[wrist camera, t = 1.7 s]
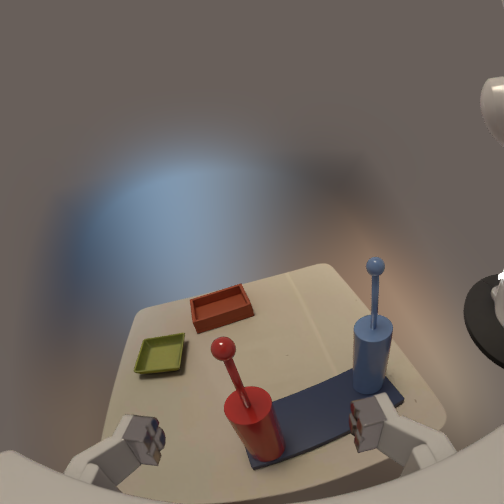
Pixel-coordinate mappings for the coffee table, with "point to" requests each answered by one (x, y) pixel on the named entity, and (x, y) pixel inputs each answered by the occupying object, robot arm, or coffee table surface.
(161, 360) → the green tray
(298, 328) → the coffee table surface
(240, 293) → the red tray
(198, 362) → the coffee table surface
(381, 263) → the blue cylinder with rod
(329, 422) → the navy board
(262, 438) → the red ball-topped plunger
